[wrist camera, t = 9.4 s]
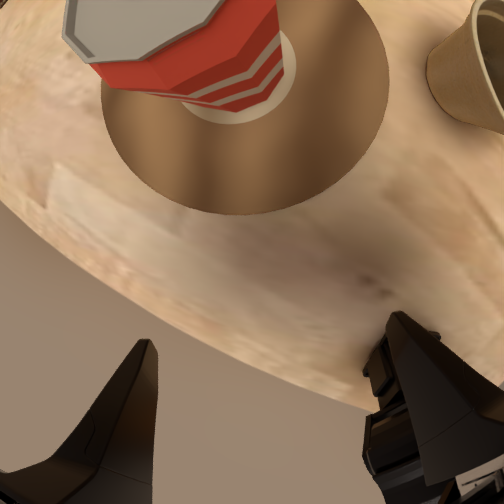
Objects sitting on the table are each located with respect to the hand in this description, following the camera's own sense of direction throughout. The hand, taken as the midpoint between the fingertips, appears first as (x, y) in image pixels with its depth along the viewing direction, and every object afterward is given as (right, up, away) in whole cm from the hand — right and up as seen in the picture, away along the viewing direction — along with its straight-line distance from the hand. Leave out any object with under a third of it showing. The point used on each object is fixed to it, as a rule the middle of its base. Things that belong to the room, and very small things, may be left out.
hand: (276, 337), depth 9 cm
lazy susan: (-2, +15, +6) cm, 16 cm away
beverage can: (-2, +14, +5) cm, 16 cm away
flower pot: (+14, +16, +4) cm, 21 cm away
